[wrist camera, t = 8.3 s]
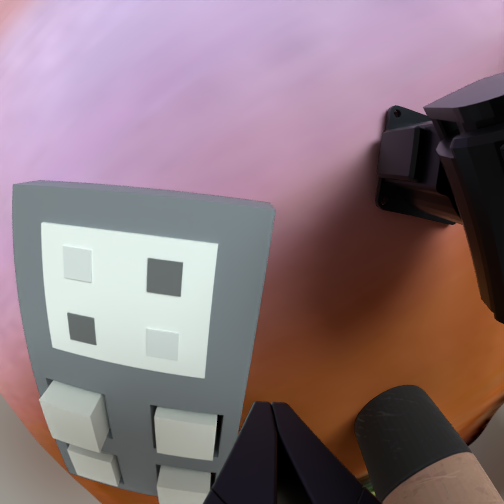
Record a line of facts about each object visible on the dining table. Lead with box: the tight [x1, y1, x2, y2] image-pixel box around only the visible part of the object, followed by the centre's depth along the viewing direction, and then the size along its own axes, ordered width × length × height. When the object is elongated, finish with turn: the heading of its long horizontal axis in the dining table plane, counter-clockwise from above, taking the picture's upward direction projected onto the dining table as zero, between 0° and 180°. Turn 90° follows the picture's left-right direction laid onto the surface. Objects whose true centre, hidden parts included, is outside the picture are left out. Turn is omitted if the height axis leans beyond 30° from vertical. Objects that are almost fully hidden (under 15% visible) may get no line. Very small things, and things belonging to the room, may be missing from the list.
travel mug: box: [355, 385, 504, 504], centre depth 14 cm, size 8×8×20 cm
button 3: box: [154, 406, 217, 461], centre depth 20 cm, size 4×4×3 cm
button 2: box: [67, 444, 122, 487], centre depth 21 cm, size 4×4×3 cm
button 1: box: [39, 380, 111, 453], centre depth 18 cm, size 4×4×3 cm
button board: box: [12, 180, 276, 497], centre depth 19 cm, size 15×26×3 cm, turn 172°
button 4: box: [157, 465, 211, 504], centre depth 20 cm, size 4×4×3 cm
